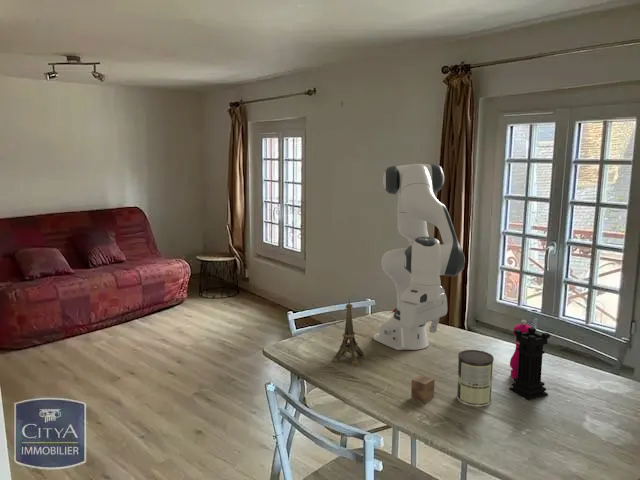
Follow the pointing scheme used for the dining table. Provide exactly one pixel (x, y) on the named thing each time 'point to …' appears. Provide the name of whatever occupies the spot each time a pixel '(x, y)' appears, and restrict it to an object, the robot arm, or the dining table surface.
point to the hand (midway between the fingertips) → (424, 335)
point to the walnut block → (422, 388)
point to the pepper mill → (515, 357)
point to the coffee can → (475, 378)
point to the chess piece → (530, 364)
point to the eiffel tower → (347, 346)
